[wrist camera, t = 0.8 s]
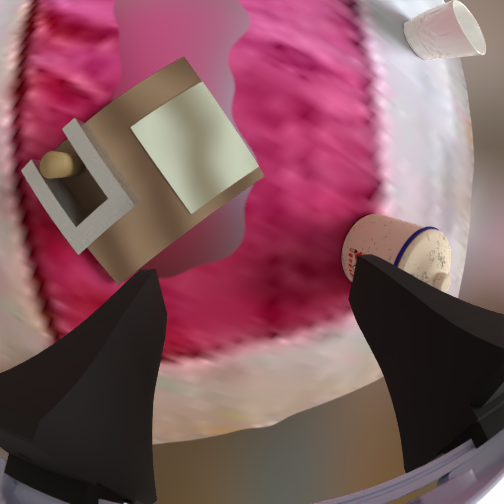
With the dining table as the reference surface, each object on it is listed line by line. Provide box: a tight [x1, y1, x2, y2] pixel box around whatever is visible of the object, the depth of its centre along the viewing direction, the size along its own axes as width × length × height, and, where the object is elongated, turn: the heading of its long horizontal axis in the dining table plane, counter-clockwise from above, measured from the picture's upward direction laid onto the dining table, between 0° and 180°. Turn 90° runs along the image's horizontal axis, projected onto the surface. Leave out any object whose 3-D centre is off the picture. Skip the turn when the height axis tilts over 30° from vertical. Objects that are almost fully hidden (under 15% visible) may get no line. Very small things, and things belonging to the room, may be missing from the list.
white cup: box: [403, 0, 486, 60], centre depth 20 cm, size 8×8×10 cm
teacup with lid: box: [342, 214, 451, 293], centre depth 26 cm, size 12×9×12 cm
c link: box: [21, 118, 140, 255], centre depth 18 cm, size 8×6×4 cm
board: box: [40, 57, 264, 285], centre depth 19 cm, size 16×13×6 cm
